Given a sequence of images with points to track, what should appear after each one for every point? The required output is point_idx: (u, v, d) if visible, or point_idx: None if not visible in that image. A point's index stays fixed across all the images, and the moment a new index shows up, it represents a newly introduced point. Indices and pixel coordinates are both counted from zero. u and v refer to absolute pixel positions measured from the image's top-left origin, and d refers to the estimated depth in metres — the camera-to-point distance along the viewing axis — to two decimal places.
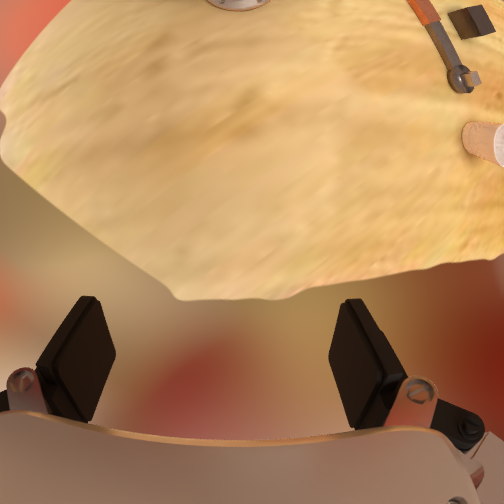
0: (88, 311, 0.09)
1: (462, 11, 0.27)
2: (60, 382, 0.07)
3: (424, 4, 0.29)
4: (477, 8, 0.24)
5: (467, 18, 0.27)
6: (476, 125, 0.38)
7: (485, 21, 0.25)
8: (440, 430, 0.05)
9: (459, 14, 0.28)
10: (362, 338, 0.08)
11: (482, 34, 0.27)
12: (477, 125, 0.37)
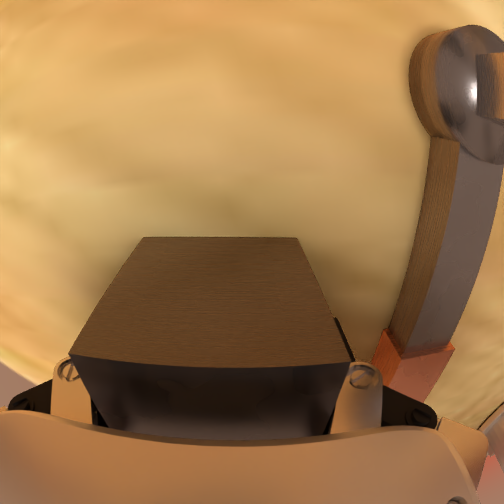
0: None
1: None
2: None
3: None
4: None
5: None
6: None
7: (175, 427, 0.06)
8: (384, 418, 0.06)
9: None
10: None
11: (330, 371, 0.06)
12: None
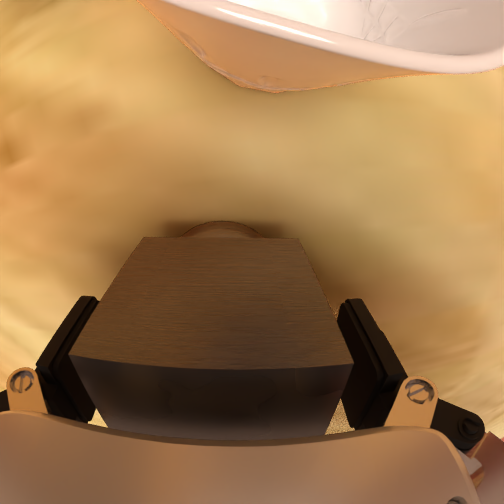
0: (88, 311, 0.09)
1: None
2: (60, 382, 0.07)
3: None
4: None
5: None
6: None
7: (176, 429, 0.06)
8: (440, 430, 0.05)
9: None
10: (362, 338, 0.08)
11: (332, 373, 0.05)
12: None
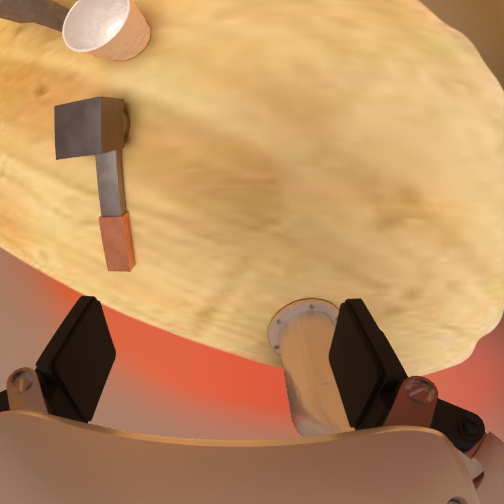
0: (88, 311, 0.09)
1: (108, 147, 0.27)
2: (60, 382, 0.07)
3: (115, 243, 0.37)
4: (73, 151, 0.25)
5: (107, 133, 0.26)
6: (120, 55, 0.25)
7: (69, 125, 0.24)
8: (440, 430, 0.05)
9: (113, 142, 0.28)
10: (362, 338, 0.08)
11: (97, 99, 0.23)
12: (119, 55, 0.25)
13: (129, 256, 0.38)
